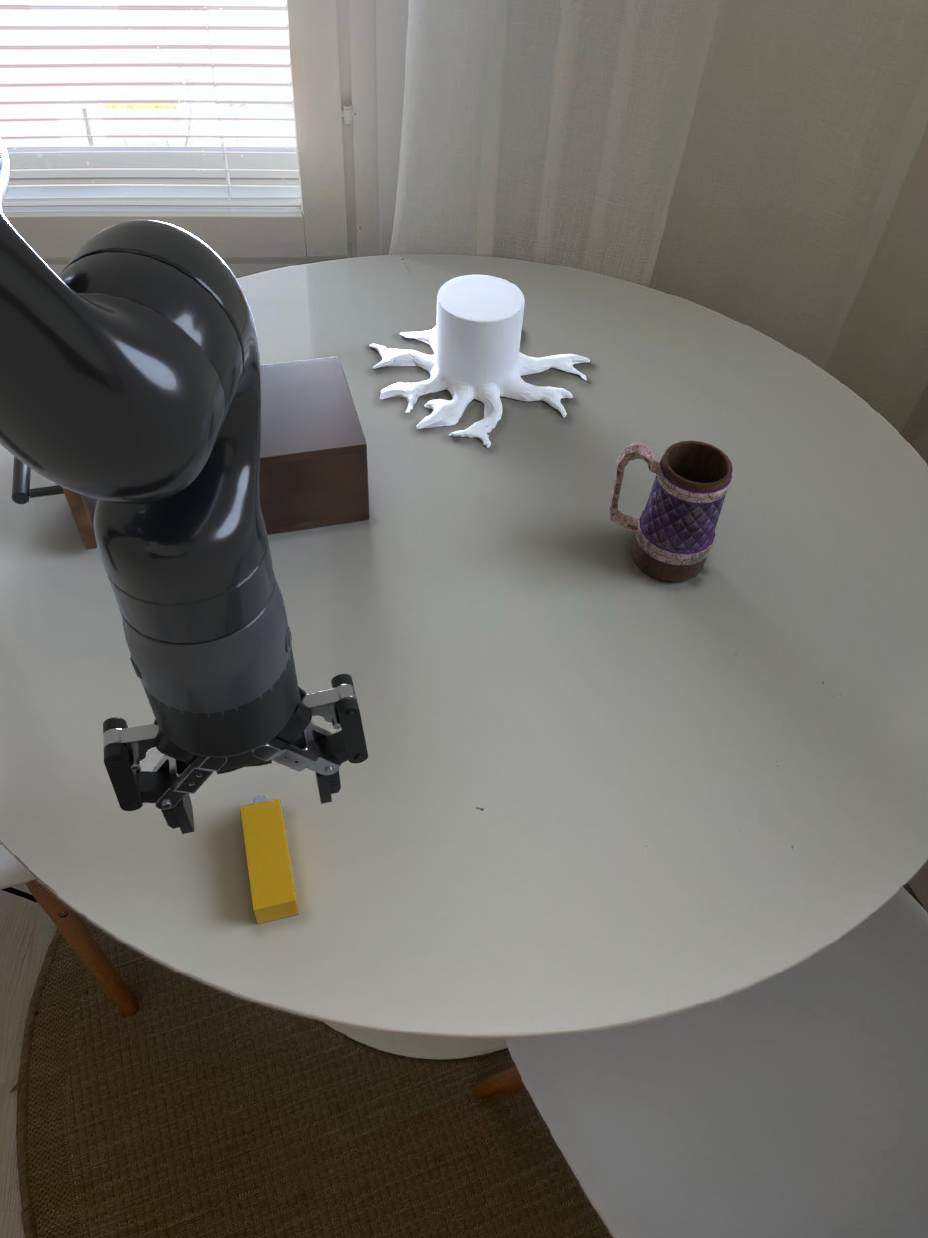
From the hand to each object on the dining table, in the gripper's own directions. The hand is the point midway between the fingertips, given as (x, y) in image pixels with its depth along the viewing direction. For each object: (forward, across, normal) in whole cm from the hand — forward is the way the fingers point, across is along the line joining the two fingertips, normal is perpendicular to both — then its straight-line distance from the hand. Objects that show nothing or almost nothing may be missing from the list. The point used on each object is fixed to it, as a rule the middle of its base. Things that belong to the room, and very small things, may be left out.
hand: (256, 805), depth 57 cm
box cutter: (+9, 0, 0) cm, 9 cm away
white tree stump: (+9, -31, -54) cm, 63 cm away
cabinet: (+9, -6, -40) cm, 41 cm away
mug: (+9, -39, -23) cm, 46 cm away
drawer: (+8, +7, -40) cm, 41 cm away
